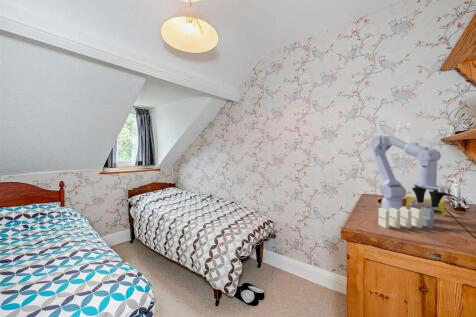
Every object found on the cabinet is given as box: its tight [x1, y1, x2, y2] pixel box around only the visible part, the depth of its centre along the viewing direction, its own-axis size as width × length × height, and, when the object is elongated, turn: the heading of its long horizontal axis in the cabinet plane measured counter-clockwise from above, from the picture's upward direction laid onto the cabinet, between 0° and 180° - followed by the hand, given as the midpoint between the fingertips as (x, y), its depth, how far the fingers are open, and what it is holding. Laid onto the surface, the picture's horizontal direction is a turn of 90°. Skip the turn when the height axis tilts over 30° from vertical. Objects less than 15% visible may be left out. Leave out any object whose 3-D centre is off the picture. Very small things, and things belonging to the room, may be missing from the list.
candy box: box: [405, 195, 446, 217], centre depth 120 cm, size 16×2×8 cm, turn 37°
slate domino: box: [421, 207, 435, 229], centre depth 100 cm, size 2×5×8 cm, turn 0°
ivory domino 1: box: [378, 207, 390, 229], centre depth 100 cm, size 2×5×8 cm, turn 0°
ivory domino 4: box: [410, 208, 423, 229], centre depth 100 cm, size 2×5×8 cm, turn 0°
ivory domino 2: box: [389, 208, 401, 229], centre depth 100 cm, size 2×5×8 cm, turn 0°
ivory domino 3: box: [400, 207, 412, 229], centre depth 100 cm, size 2×5×8 cm, turn 0°
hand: (427, 204), depth 100 cm, fingers open, 7 cm apart
